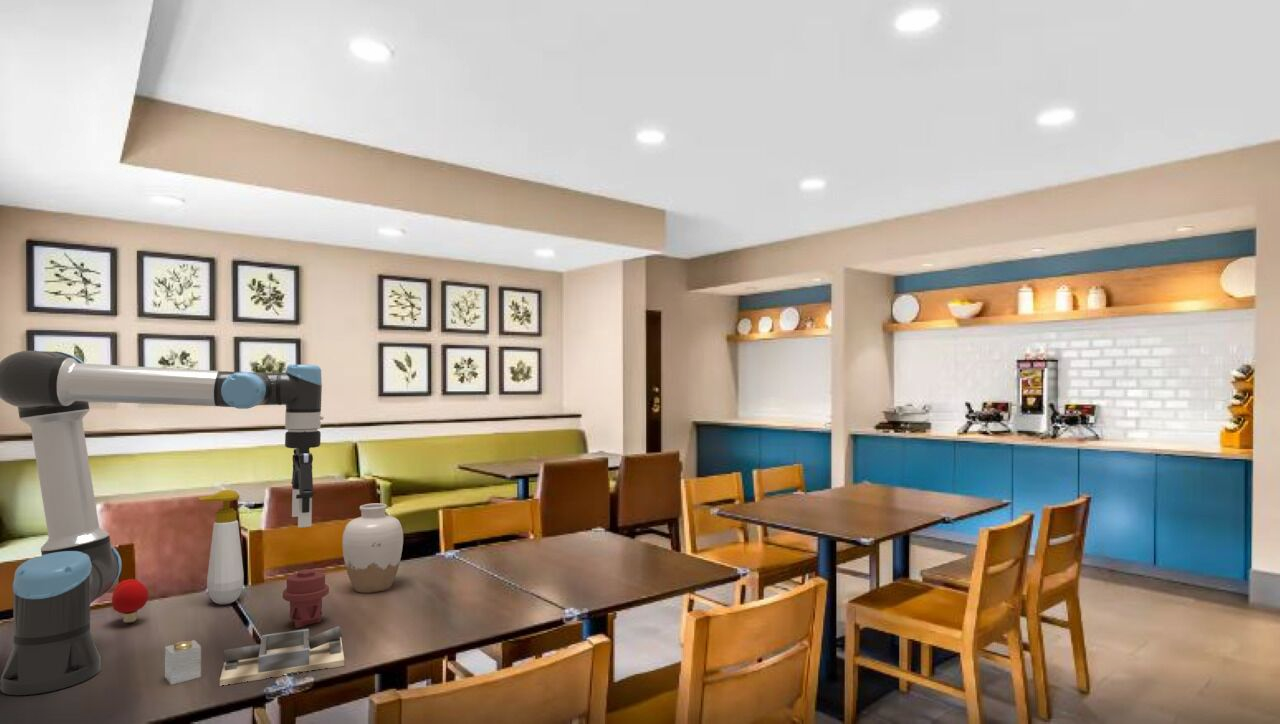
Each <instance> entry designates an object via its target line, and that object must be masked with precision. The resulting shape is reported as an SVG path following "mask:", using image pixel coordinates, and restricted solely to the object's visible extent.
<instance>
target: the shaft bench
mask: <svg viewBox="0 0 1280 724" xmlns="http://www.w3.org/2000/svg"><path fill="white" fill-rule="evenodd" d="M342 637H344V636H343V631H342V629H341V625H338V626H335V627H331V628H329V629H327V630H325V631H321V632H318V633H317V634H314V635H312V636H310V629H309V628H303V629H298V630H297V629H296V630H291V631H290V630H289V631H282V632H275V633H269V634H262V635H261V640H260V644H254V645H248V646H240V647H234V648H228V649H223V658H222V659H223V666H222V669H221V673H220V676H219V677H220V678H219V687H221V686H222V685H224V686H228V684H230V685H236V684H241V682H242V683H247V681H248V682H253V681H254V682H255V681H258V680H259V681H260V680H266V678H267V679H271V678H270V677H273V678H279V677H283V676H282V675H284V674H287V673H291V672H297V671H307V670H316V669H317V670H316V671H319V670H318V669H322V670H326V669H325V668H328V669H333V668H340V667H344V666H345V655H344V650H343V647H344V646H343V643H342ZM235 683H236V684H235ZM222 687H223V686H222Z"/></svg>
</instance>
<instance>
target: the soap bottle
mask: <svg viewBox="0 0 1280 724" xmlns="http://www.w3.org/2000/svg"><path fill="white" fill-rule="evenodd" d="M198 499H199V501H200V502H202V503H203V502H204V503H205V502H222V508H221V509H217V511H216V512H215V518H214V519H215V522H213V525H212V526H213V527H212V535H211V544H210V553H209V561H208V569H207V579H206V585H207V586H206V588H207V592H208V594H209V595H208V596H209V597H210V599H211V600H212V601H213V602H214V603H215V604H217V605H223V606H224V605H229V604H230V605H231V604H233V603H234V602H236V601H237V600H238V599H239V597H240V596H241V594H242V591H243V586H244V578H245V577H244V575H245V574H244V567H243V556H242V546H241V538H240V529H239V521H238V519H237V510H235V508H233V507H232V508H231V507H230V502H231V501H235V500H239V499H240V495H239V493H238V492H237V491H235V490H231V489H224V490H220V491H218V492H216V493H213V494H212V495H210V496H203V497H202V496H201V497H198Z"/></svg>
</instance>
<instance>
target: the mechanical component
mask: <svg viewBox="0 0 1280 724" xmlns="http://www.w3.org/2000/svg"><path fill="white" fill-rule="evenodd" d="M329 592H330V586H329V585H328V584H326V573H325V572H323V571H319V570H315V569H314V568H313V569H312V568H308V569H307V568H306V569H301V570H298V571H297V572H295V573H293V574H290V575H288V576H287V577H286V588H285V589H284V590H283V591H282V599H283V600H285V601H286V602H289V620H290V621H291V622H292V621H293V622H294V627H295V628H297V629H298V628H299V629H300V628H302V627H305V626H308V625H312V624H317V623H321V621H322V615H323V612H322V610H323V609H322V607H323V598H324V597H326V596H327V595H328V594H329Z"/></svg>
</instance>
